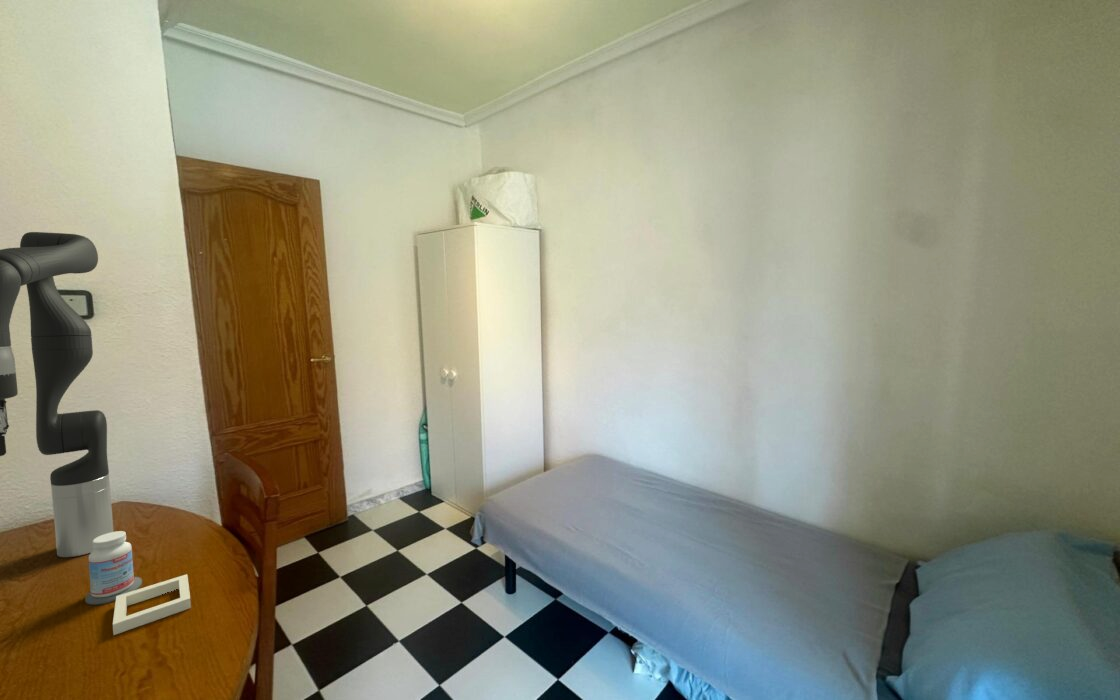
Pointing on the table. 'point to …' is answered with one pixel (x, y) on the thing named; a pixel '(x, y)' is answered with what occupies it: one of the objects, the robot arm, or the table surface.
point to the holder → (154, 613)
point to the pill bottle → (110, 565)
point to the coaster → (97, 601)
